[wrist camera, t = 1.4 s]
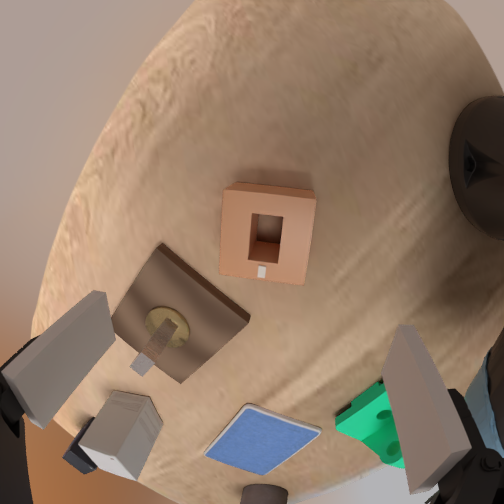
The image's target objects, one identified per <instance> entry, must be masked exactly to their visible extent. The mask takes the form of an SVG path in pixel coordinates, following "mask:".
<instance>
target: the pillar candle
mask: <svg viewBox="0 0 504 504" xmlns="http://www.w3.org/2000/svg"><path fill="white" fill-rule="evenodd" d="M287 496H288V492H287V491H286V490H285V489H283V488H281V487H278V486H274V485H267V484H254V485H249V486H246V487H245V488H244V490H243V493H242V498H241V502H240V504H287Z"/></svg>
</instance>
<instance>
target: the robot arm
mask: <svg viewBox="0 0 504 504" xmlns="http://www.w3.org/2000/svg"><path fill="white" fill-rule="evenodd" d="M449 167H450V177H451V182H452V187H453V190H454V194H455V197H456V199H457V202H458V204H459V206H460V208H461V210H462V212H463V213H464V215H465V216H466V218H467V219H468V220H469V222H470V223H471V224H472V225H473V226H475V227H476V228H477V229H478V230H480V231H482V232H483V233H485V234H487V235H489V236H490V237H492V238H495V239H498V240H502V241H504V96H490V97H484V98H480V99H477V100H475V101H473V102H472V103H470V104H469V105H468V106H467V107H466V108H465V109H464V110H463V112H462V113H461V114H460V116H459V118H458V120H457V122H456V124H455V127H454V130H453V133H452V137H451V142H450V151H449ZM115 340H116V338H115V333H114V329H113V325H112V320H111V316H110V311H109V306H108V301H107V296H106V292H101V291H96V290H93V291H92V292H91V293H90V294H88V295H87V296H86V297H85V298H83V299H82V300H81V301H80V302H79V303H77V304H76V305H75V306H74V307H73V308H71V309H70V310H69V311H68V312H67V313H65V314H64V315H63V316H62V317H61V318H60V319H58V320H57V321H56V322H55V323H54V324H53V325H51V326H50V327H49V328H48V329H47V330H46V331H45V332H43V333H42V334H41V335H39V336H37V337H35V338H33V339H31V340H30V341H28V342H27V343H26V344H25V345H24V346H23V348H21V349H20V350H18V351H17V353H15V354H14V355H13V356H12V357H11V358H10V359H9V360H8V361H7V362H6V363H4V364H3V365H2V366H1V367H0V504H33V500H32V494H31V489H30V482H29V475H28V467H27V457H26V446H25V426H24V424H25V423H24V419H23V418H22V415H23V414H24V413H26V415H27V416H28V418H29V419H30V421H31V422H32V423H34V424H35V425H37V426H38V427H40V428H42V429H44V428H45V427H46V426H47V424H48V423H49V422H50V421H51V419H52V418H53V417H54V415H55V414H56V413H57V412H58V410H59V409H60V408H61V406H62V405H63V404H64V403H65V401H66V400H67V399H68V397H69V396H70V395H71V394H72V392H73V391H74V390H75V389H76V387H77V386H78V385H79V384H80V382H81V381H82V380H83V379H84V377H85V376H86V375H87V374H88V373H89V371H90V370H91V369H92V368H93V366H94V365H95V364H96V363H97V362H98V360H99V359H100V358H101V357H102V356H103V354H104V353H105V352H106V351H107V350H108V348H109V347H110V346H111V345H112V344H113V343H114V341H115ZM381 374H382V377H383V381H384V384H385V388H386V391H387V395H388V399H389V402H390V406H391V410H392V414H393V418H394V421H395V425H396V430H397V434H398V438H399V442H400V447H401V451H402V456H403V460H404V465H405V470H406V475H407V480H408V485H409V491H410V495H411V494H416V493H421V492H425V491H429V490H430V489H431V488H432V487H434V486H435V485H436V484H437V483H438V487H439V490H438V491H437V492H436V493H435V494H434V495H433V496H431V497H430V498H429V499H428V500H427V501H426V502H425V504H428V503H429V502H430V501H431V502H430V504H504V328H503V329H502V331H501V333H500V335H499V337H498V338H497V340H496V342H495V344H494V345H493V347H491V348H490V350H489V351H488V352H487V355H486V356H485V357H484V361H483V364H482V366H481V368H480V369H479V371H478V373H477V374H476V376H475V378H474V379H473V381H472V382H471V384H470V386H469V387H468V389H467V392H466V395H465V397H463V396H462V395H461V394H460V393H459V392H458V391H457V390H456V389H447V388H446V386H445V384H444V382H443V380H442V378H441V376H440V374H439V372H438V370H437V368H436V366H435V364H434V362H433V360H432V358H431V356H430V354H429V352H428V350H427V348H426V347H425V345H424V343H423V341H422V339H421V337H420V335H419V334H418V332H417V330H416V328H415V326H414V325H398V327H397V330H396V333H395V336H394V339H393V342H392V345H391V348H390V350H389V353H388V356H387V358H386V361H385V364H384V366H383V369H382V371H381Z"/></svg>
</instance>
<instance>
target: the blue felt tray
mask: <svg viewBox="0 0 504 504" xmlns="http://www.w3.org/2000/svg"><path fill="white" fill-rule="evenodd" d="M321 431H322V429H321V428H319V427H317V426H314V425H311V424H308V423H305V422H302V421H299V420H296V419H293V418H291V417H288V416H285V415H282V414H279V413H276V412H273V411H271V410H268V409H265V408H263V407H260V406H257V405H254V404H246V405H244V406H243V407H242V409H241V410H240V411H239V412H238V413H237V415H236V416H235V417H234V418H233V419H232V421H231V422H230V423H229V424H228V425H227V426H226V428H225V429H224V430H223V431H222V432H221V433H220V434H219V436H218V437H217V438H216V439H215V440H214V441H213V442H212V443H211V444H210V446H209V447H207V449H206V450H205V451H204V455H205V456H207V457H209V458H212V459H214V460H217V461H220V462H222V463H225V464H228V465H231V466H234V467H237V468H240V469H243V470H246V471H249V472H252V473H255V474H259V475H266V474H267V473H269V472H270V471H272V470H273V469H275V468H276V467H278V466H279V465H280V464H282V463H283V462H285V461H286V460H287V459H289V458H290V457H291V456H293V455H294V454H296V453H297V452H298V451H300V450H301V449H302V448H304V447H305V446H306V445H307V444H309V443H310V442H311V441H312V440H314V439H315V438H316V437H317V436H319V435H320V434H321Z"/></svg>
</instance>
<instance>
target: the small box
mask: <svg viewBox="0 0 504 504" xmlns="http://www.w3.org/2000/svg"><path fill="white" fill-rule="evenodd" d="M94 419H95V418H94V417H93V418H92V419H91V420H90V421H89V422H88V423H87V424H86V425H85V426H84V427H83V428H82V429H81V430H80V432H79V433H78V434H77V436H76V437H75V438H74V440H73V441H72V443H71V444H70V446H69V447H68V449H67V450H66V452H65V454H64V455H63V457H62V458H63V459H65V460H66V461H67V462H68V463H70V464H71V465H73V467H75V468H76V469H78V470H79V471H80V472H81V473H83V474H87V473H89V472H92V471H94V470H96V469H97V467H98V466H97V465H96V464H95V463H94V462H93V461H92V459H91V458H90V457H89V456H88V455H87V454H86V453H85V452H84V450H83V449H82V448H81V447H80V446H79V445H78V443H79V442H80V440H81V439H82V437H83V436H84V434H85V432H86V431H87V429H88V428H89V426H90V425H91V423H92V422H93V420H94Z"/></svg>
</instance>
